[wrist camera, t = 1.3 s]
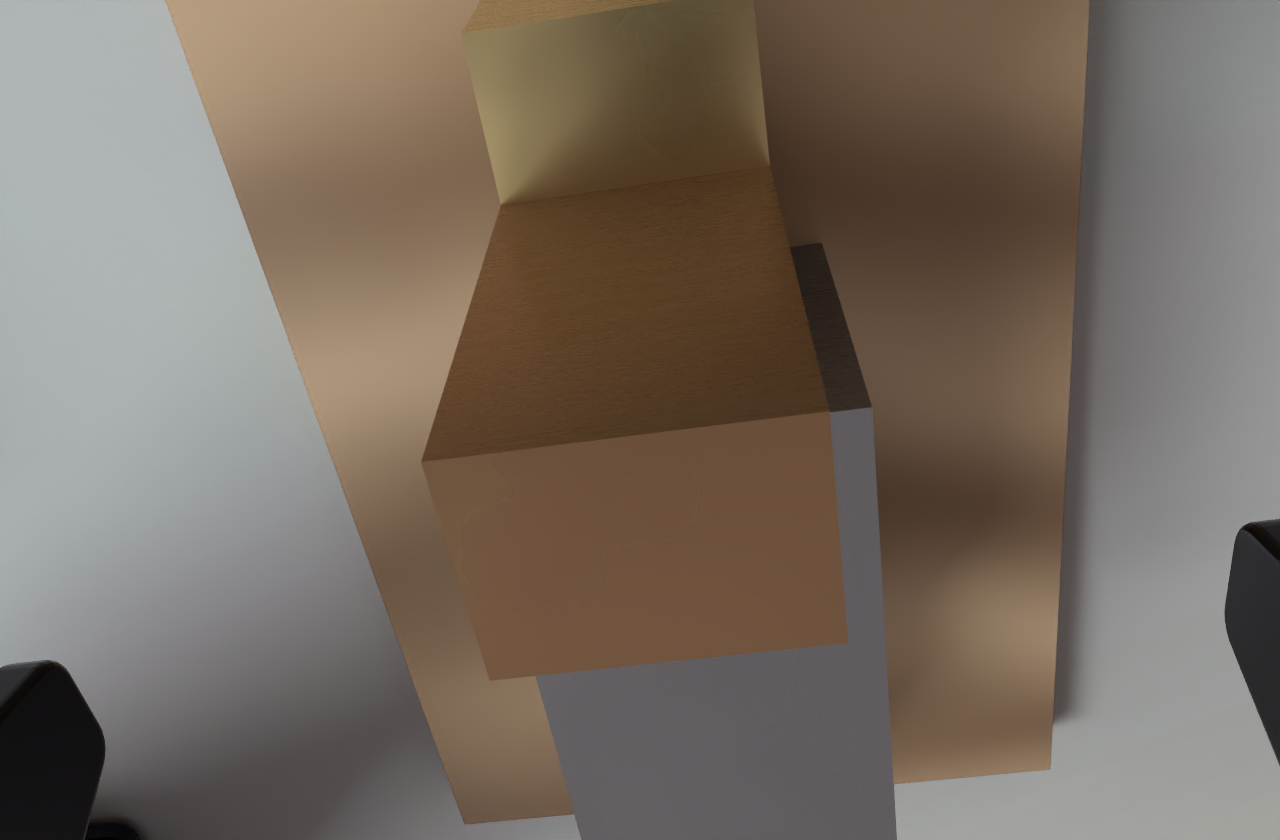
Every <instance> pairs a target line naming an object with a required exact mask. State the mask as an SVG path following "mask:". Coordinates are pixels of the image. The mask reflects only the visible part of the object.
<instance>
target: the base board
mask: <svg viewBox="0 0 1280 840" xmlns="http://www.w3.org/2000/svg"><path fill="white" fill-rule="evenodd" d="M165 1H166V4H167V7H168V10H169V12H170V15H171V18H172V21H173V23H174V26H175V29H176V32H177V34H178V37H179V40H180V43H181V45H182V48H183V51H184V54H185V56H186V59H187V62H188V65H189V67H190V70H191V73H192V76H193V78H194V81H195V84H196V87H197V89H198V92H199V95H200V98H201V100H202V103H203V106H204V109H205V111H206V114H207V117H208V120H209V122H210V125H211V128H212V131H213V133H214V136H215V139H216V142H217V144H218V147H219V150H220V153H221V155H222V158H223V161H224V164H225V166H226V169H227V172H228V175H229V177H230V180H231V183H232V186H233V188H234V191H235V194H236V197H237V199H238V202H239V205H240V208H241V210H242V213H243V216H244V219H245V221H246V224H247V227H248V230H249V232H250V235H251V238H252V241H253V243H254V246H255V249H256V252H257V254H258V257H259V260H260V263H261V265H262V268H263V271H264V274H265V276H266V279H267V282H268V285H269V287H270V290H271V293H272V296H273V298H274V301H275V304H276V307H277V309H278V312H279V315H280V318H281V320H282V323H283V326H284V329H285V331H286V334H287V337H288V340H289V342H290V345H291V348H292V351H293V353H294V356H295V359H296V362H297V364H298V367H299V370H300V373H301V375H302V378H303V381H304V384H305V386H306V389H307V392H308V395H309V397H310V400H311V403H312V406H313V408H314V411H315V414H316V417H317V419H318V422H319V425H320V428H321V430H322V433H323V436H324V439H325V441H326V444H327V447H328V450H329V452H330V455H331V458H332V461H333V463H334V466H335V469H336V472H337V474H338V477H339V480H340V483H341V485H342V488H343V491H344V494H345V496H346V499H347V502H348V505H349V507H350V510H351V513H352V516H353V518H354V521H355V524H356V527H357V529H358V532H359V535H360V538H361V540H362V543H363V546H364V549H365V551H366V554H367V557H368V560H369V562H370V565H371V568H372V571H373V573H374V576H375V579H376V582H377V584H378V587H379V590H380V593H381V596H382V598H383V601H384V604H385V607H386V609H387V612H388V615H389V618H390V620H391V623H392V626H393V629H394V631H395V634H396V637H397V640H398V642H399V645H400V648H401V651H402V653H403V656H404V659H405V662H406V664H407V667H408V670H409V673H410V675H411V678H412V681H413V684H414V686H415V689H416V692H417V695H418V697H419V700H420V703H421V706H422V708H423V711H424V714H425V717H426V719H427V722H428V725H429V728H430V730H431V733H432V736H433V739H434V741H435V744H436V747H437V750H438V752H439V755H440V758H441V761H442V763H443V766H444V769H445V772H446V774H447V777H448V780H449V783H450V785H451V788H452V791H453V794H454V796H455V799H456V802H457V805H458V807H459V810H460V813H461V816H462V818H463V821H464V824H474V823H484V822H495V821H506V820H516V819H527V818H538V817H548V816H559V815H570V814H574V810H573V807H572V803H571V800H570V796H569V793H568V789H567V786H566V782H565V779H564V775H563V772H562V768H561V765H560V761H559V758H558V754H557V750H556V747H555V743H554V740H553V736H552V733H551V729H550V726H549V722H548V719H547V715H546V712H545V708H544V705H543V701H542V698H541V694H540V691H539V687H538V683H537V680H536V676H530V677H521V678H511V679H502V680H493V681H490V680H489V677H488V674H487V671H486V668H485V664H484V661H483V658H482V655H481V652H480V649H479V645H478V642H477V639H476V636H475V633H474V629H473V626H472V623H471V620H470V617H469V613H468V610H467V607H466V604H465V601H464V598H463V594H462V591H461V588H460V585H459V582H458V578H457V575H456V572H455V569H454V566H453V563H452V559H451V556H450V553H449V550H448V547H447V543H446V540H445V537H444V534H443V531H442V527H441V524H440V521H439V518H438V515H437V512H436V508H435V505H434V502H433V499H432V496H431V492H430V489H429V486H428V483H427V480H426V476H425V473H424V470H423V467H422V464H421V461H422V457H423V454H424V451H425V448H426V444H427V441H428V438H429V435H430V432H431V428H432V425H433V422H434V419H435V415H436V412H437V409H438V406H439V403H440V399H441V396H442V393H443V390H444V386H445V383H446V380H447V377H448V374H449V370H450V367H451V364H452V361H453V358H454V354H455V351H456V348H457V345H458V341H459V338H460V335H461V332H462V329H463V325H464V322H465V319H466V316H467V312H468V309H469V306H470V303H471V300H472V296H473V293H474V290H475V287H476V283H477V280H478V277H479V274H480V271H481V267H482V264H483V261H484V258H485V254H486V251H487V248H488V245H489V242H490V238H491V235H492V232H493V229H494V225H495V222H496V219H497V216H498V213H499V209H500V206H501V204H500V199H499V195H498V191H497V187H496V182H495V178H494V174H493V170H492V165H491V161H490V157H489V153H488V148H487V144H486V140H485V136H484V131H483V127H482V123H481V118H480V114H479V110H478V106H477V101H476V97H475V93H474V89H473V84H472V80H471V76H470V72H469V67H468V63H467V59H466V54H465V50H464V46H463V42H462V37H461V33H462V31H463V29H464V28H465V26H466V24H467V23H468V21H469V19H470V18H471V16H472V14H473V13H474V11H475V9H476V8H477V6H478V4H479V2H480V1H481V0H165ZM753 1H754V11H755V21H756V31H757V41H758V51H759V61H760V71H761V81H762V91H763V101H764V111H765V121H766V131H767V142H768V152H769V162H770V168H771V172H772V176H773V181H774V185H775V189H776V193H777V197H778V201H779V205H780V209H781V213H782V217H783V222H784V226H785V230H786V234H787V238H788V242H789V246H790V247H794V246H802V245H809V244H816V243H822V244H823V248H824V251H825V254H826V257H827V261H828V264H829V267H830V270H831V274H832V277H833V280H834V284H835V287H836V290H837V293H838V297H839V300H840V303H841V306H842V310H843V313H844V316H845V320H846V323H847V326H848V329H849V333H850V336H851V339H852V342H853V346H854V349H855V352H856V356H857V359H858V362H859V365H860V369H861V372H862V375H863V378H864V382H865V385H866V388H867V392H868V395H869V398H870V401H871V405H872V411H873V428H874V446H875V464H876V481H877V499H878V517H879V534H880V552H881V570H882V587H883V605H884V623H885V641H886V658H887V676H888V694H889V711H890V729H891V747H892V764H893V782H894V784H900V783H911V782H921V781H932V780H943V779H953V778H964V777H975V776H985V775H996V774H1007V773H1017V772H1028V771H1039V770H1049V769H1050V765H1051V746H1052V726H1053V707H1054V687H1055V668H1056V648H1057V629H1058V609H1059V590H1060V570H1061V551H1062V531H1063V512H1064V492H1065V473H1066V453H1067V434H1068V415H1069V395H1070V376H1071V356H1072V337H1073V317H1074V298H1075V278H1076V259H1077V239H1078V220H1079V200H1080V181H1081V161H1082V142H1083V122H1084V103H1085V83H1086V64H1087V45H1088V25H1089V6H1090V0H753Z"/></svg>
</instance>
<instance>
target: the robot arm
mask: <svg viewBox="0 0 1280 840" xmlns="http://www.w3.org/2000/svg"><path fill="white" fill-rule="evenodd" d="M1225 623H1226V630H1227V634H1228V638H1229V641H1230V644H1231V646H1232V649H1233V651H1234V654H1235V656H1236V659H1237V661H1238V664H1239V666H1240V669H1241V671H1242V674H1243V676H1244V678H1245V681H1246V683H1247V686H1248V688H1249V691H1250V693H1251V696H1252V698H1253V701H1254V703H1255V706H1256V708H1257V711H1258V713H1259V716H1260V718H1261V721H1262V723H1263V726H1264V728H1265V731H1266V733H1267V736H1268V738H1269V741H1270V743H1271V746H1272V748H1273V751H1274V753H1275V756H1276V758H1277V760H1278V763H1279V765H1280V519H1276V520H1267V521H1258V522H1251V523H1248V524H1246V525H1244V526H1243V527H1242V528H1241V529H1240V530H1239V532H1238V534H1237V536H1236V540H1235V544H1234V550H1233V557H1232V564H1231V570H1230V577H1229V583H1228V590H1227V597H1226V603H1225ZM104 759H105V740H104V736H103V732H102V729H101V727H100V725H99V723H98V722H97V720H96V718H95V716H94V715H93V713H92V711H91V710H90V708H89V706H88V704H87V703H86V701H85V699H84V698H83V696H82V694H81V692H80V691H79V689H78V687H77V685H76V684H75V682H74V680H73V679H72V677H71V675H70V673H69V672H68V671H67V669H66V668H65V667H64V666H62V665H61V664H59V663H58V662H56V661H51V660H42V661H33V662H25V663H16V664H10V665H6V666H3V667H1V668H0V840H141V838H140V837H139V835H138V834H137V833H136V832H135V831H134V830H133V829H132V828H130V827H128V826H126V825H123V824H119V823H105V824H95V825H88V824H89V820H90V816H91V812H92V808H93V804H94V800H95V796H96V792H97V789H98V785H99V781H100V777H101V773H102V769H103V765H104Z"/></svg>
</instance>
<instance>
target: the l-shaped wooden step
mask: <svg viewBox="0 0 1280 840" xmlns="http://www.w3.org/2000/svg"><path fill="white" fill-rule="evenodd" d="M461 37H462V42H463V46H464V50H465V54H466V59H467V63H468V67H469V72H470V76H471V80H472V84H473V89H474V93H475V97H476V101H477V106H478V110H479V114H480V118H481V123H482V127H483V131H484V136H485V140H486V144H487V148H488V153H489V157H490V161H491V165H492V170H493V174H494V178H495V182H496V187H497V191H498V195H499V199H500V204H501V206H500V209H499V213H498V216H497V219H496V222H495V225H494V229H493V232H492V235H491V238H490V242H489V245H488V248H487V251H486V254H485V258H484V261H483V264H482V267H481V271H480V274H479V277H478V280H477V283H476V287H475V290H474V293H473V296H472V300H471V303H470V306H469V309H468V312H467V316H466V319H465V322H464V325H463V329H462V332H461V335H460V338H459V341H458V345H457V348H456V351H455V354H454V358H453V361H452V364H451V367H450V370H449V374H448V377H447V380H446V383H445V386H444V390H443V393H442V396H441V399H440V403H439V406H438V409H437V412H436V415H435V419H434V422H433V425H432V428H431V432H430V435H429V438H428V441H427V444H426V448H425V451H424V454H423V457H422V461H421V464H422V467H423V470H424V473H425V476H426V480H427V483H428V486H429V489H430V492H431V496H432V499H433V502H434V505H435V508H436V512H437V515H438V518H439V521H440V524H441V527H442V531H443V534H444V537H445V540H446V543H447V547H448V550H449V553H450V556H451V559H452V563H453V566H454V569H455V572H456V575H457V578H458V582H459V585H460V588H461V591H462V594H463V598H464V601H465V604H466V607H467V610H468V613H469V617H470V620H471V623H472V626H473V629H474V633H475V636H476V639H477V642H478V645H479V649H480V652H481V655H482V658H483V661H484V664H485V668H486V671H487V674H488V677H489V680H490V681H493V680H502V679H511V678H521V677H530V676H540V675H549V674H559V673H568V672H578V671H587V670H597V669H606V668H616V667H625V666H634V665H644V664H653V663H663V662H672V661H682V660H691V659H701V658H710V657H720V656H729V655H739V654H748V653H757V652H767V651H776V650H786V649H795V648H805V647H814V646H824V645H833V644H843V643H848V633H847V621H846V608H845V596H844V583H843V571H842V558H841V546H840V533H839V521H838V508H837V496H836V484H835V471H834V459H833V446H832V434H831V421H830V410H829V406H828V402H827V398H826V394H825V390H824V386H823V382H822V377H821V373H820V369H819V365H818V361H817V357H816V353H815V349H814V345H813V341H812V336H811V332H810V328H809V324H808V320H807V316H806V312H805V308H804V304H803V300H802V295H801V291H800V287H799V283H798V279H797V275H796V271H795V267H794V263H793V259H792V254H791V250H790V246H789V242H788V238H787V234H786V230H785V226H784V222H783V217H782V213H781V209H780V205H779V201H778V197H777V193H776V189H775V185H774V181H773V176H772V172H771V168H770V162H769V152H768V142H767V131H766V121H765V111H764V101H763V91H762V81H761V71H760V61H759V51H758V41H757V31H756V21H755V11H754V1H753V0H481V1H480V2H479V4H478V6H477V8H476V9H475V11H474V13H473V14H472V16H471V18H470V19H469V21H468V23H467V24H466V26H465V28H464V29H463V31H462V33H461Z"/></svg>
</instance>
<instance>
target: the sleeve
mask: <svg viewBox="0 0 1280 840" xmlns="http://www.w3.org/2000/svg"><path fill="white" fill-rule="evenodd" d="M790 250H791V254H792V259H793V263H794V267H795V271H796V275H797V279H798V283H799V287H800V291H801V295H802V300H803V304H804V308H805V312H806V316H807V320H808V324H809V328H810V332H811V336H812V341H813V345H814V349H815V353H816V357H817V361H818V365H819V369H820V373H821V377H822V382H823V386H824V390H825V394H826V398H827V402H828V406H829V410H830V421H831V434H832V446H833V459H834V471H835V484H836V496H837V508H838V521H839V533H840V546H841V558H842V571H843V583H844V596H845V608H846V621H847V633H848V643H843V644H833V645H824V646H814V647H805V648H795V649H786V650H776V651H767V652H757V653H748V654H739V655H729V656H720V657H710V658H701V659H691V660H682V661H672V662H663V663H653V664H644V665H634V666H625V667H616V668H606V669H597V670H587V671H578V672H568V673H559V674H549V675H540V676H536V680H537V683H538V687H539V691H540V694H541V698H542V701H543V705H544V708H545V712H546V715H547V719H548V722H549V726H550V729H551V733H552V736H553V740H554V743H555V747H556V750H557V754H558V758H559V761H560V765H561V768H562V772H563V775H564V779H565V782H566V786H567V789H568V793H569V796H570V800H571V803H572V807H573V810H574V814H575V818H576V821H577V825H578V828H579V832H580V835H581V839H582V840H897V835H896V817H895V800H894V782H893V764H892V747H891V729H890V711H889V694H888V676H887V658H886V641H885V623H884V605H883V587H882V570H881V552H880V534H879V517H878V499H877V481H876V464H875V446H874V428H873V411H872V405H871V401H870V398H869V395H868V392H867V388H866V385H865V382H864V378H863V375H862V372H861V369H860V365H859V362H858V359H857V356H856V352H855V349H854V346H853V342H852V339H851V336H850V333H849V329H848V326H847V323H846V320H845V316H844V313H843V310H842V306H841V303H840V300H839V297H838V293H837V290H836V287H835V284H834V280H833V277H832V274H831V270H830V267H829V264H828V261H827V257H826V254H825V251H824V248H823V244H822V243H816V244H809V245H802V246H794V247H790Z"/></svg>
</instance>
